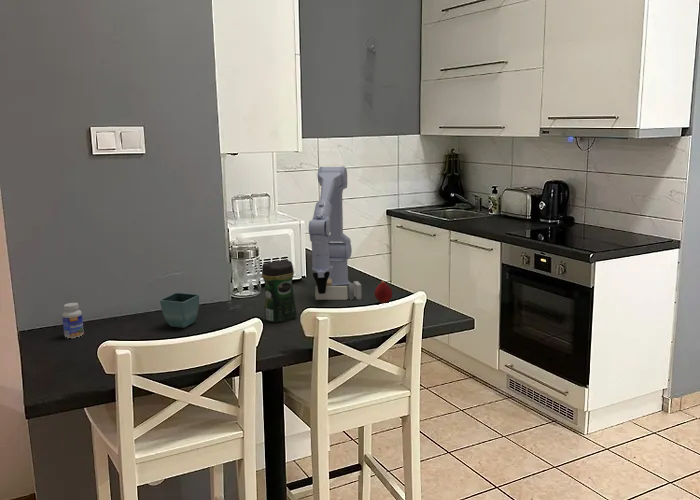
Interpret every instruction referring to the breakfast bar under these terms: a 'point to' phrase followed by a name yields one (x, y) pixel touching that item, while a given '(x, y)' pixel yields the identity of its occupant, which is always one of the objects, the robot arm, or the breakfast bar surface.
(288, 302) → the coffee jar
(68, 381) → the breakfast bar surface
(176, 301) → the flower pot
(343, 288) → the grey rectangular bar
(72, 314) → the pill bottle
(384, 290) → the onion
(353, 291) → the grey boxy piece
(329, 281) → the rubber block
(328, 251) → the robot arm
